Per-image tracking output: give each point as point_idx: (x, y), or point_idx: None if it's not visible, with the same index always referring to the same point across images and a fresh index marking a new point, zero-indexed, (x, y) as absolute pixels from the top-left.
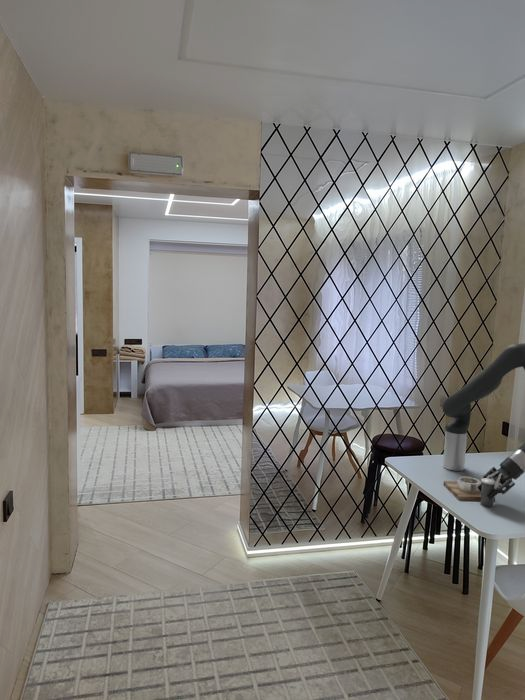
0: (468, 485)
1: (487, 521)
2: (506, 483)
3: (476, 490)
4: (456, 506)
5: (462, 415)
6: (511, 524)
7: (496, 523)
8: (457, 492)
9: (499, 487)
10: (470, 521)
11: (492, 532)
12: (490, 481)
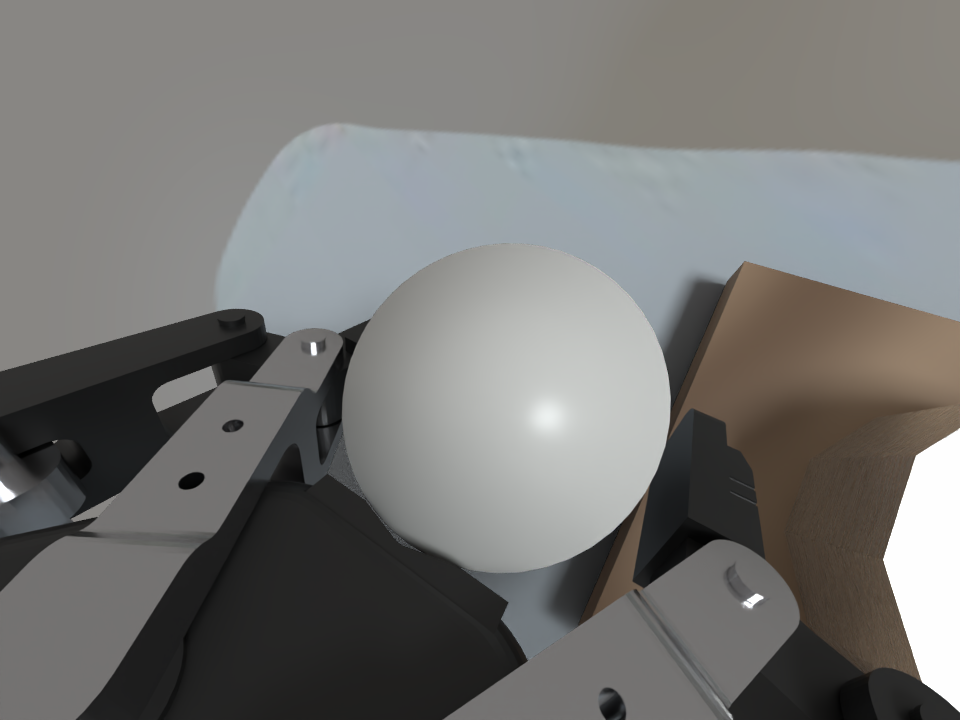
0: (921, 437)
1: (362, 221)
2: (11, 371)
3: (809, 547)
4: (623, 190)
5: None
6: (264, 322)
7: (319, 250)
8: (869, 324)
9: (228, 334)
10: (412, 136)
11: (283, 159)
12: (432, 380)
